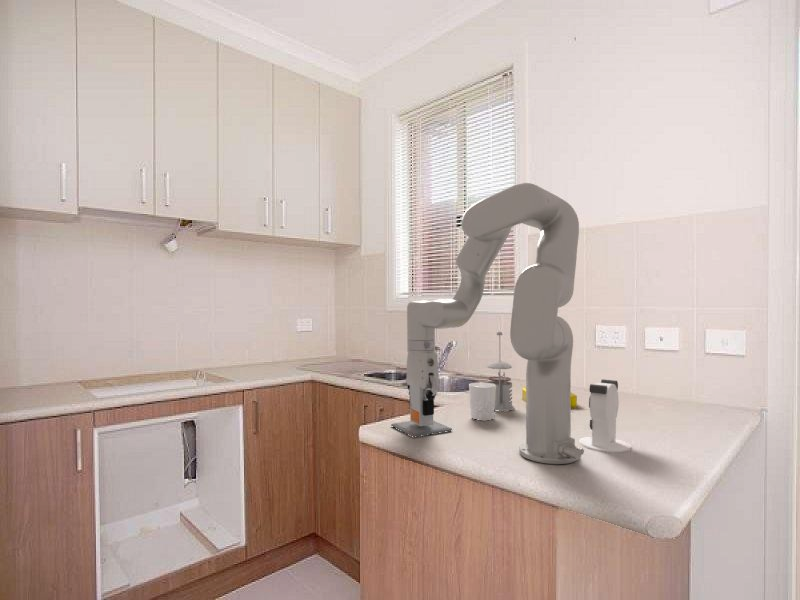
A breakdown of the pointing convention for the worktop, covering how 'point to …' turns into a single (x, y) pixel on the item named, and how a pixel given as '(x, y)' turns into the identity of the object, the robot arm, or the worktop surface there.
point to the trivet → (420, 428)
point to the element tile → (572, 398)
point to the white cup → (482, 400)
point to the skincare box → (418, 406)
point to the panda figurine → (604, 418)
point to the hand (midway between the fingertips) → (421, 411)
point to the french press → (501, 385)
